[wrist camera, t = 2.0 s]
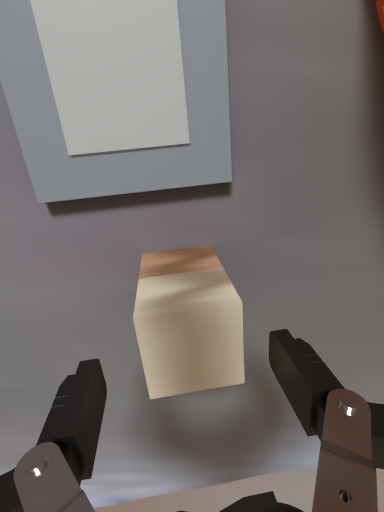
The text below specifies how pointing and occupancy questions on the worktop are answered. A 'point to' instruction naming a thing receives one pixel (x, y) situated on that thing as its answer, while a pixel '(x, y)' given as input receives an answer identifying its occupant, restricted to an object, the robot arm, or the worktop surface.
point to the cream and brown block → (188, 323)
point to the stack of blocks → (381, 12)
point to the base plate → (117, 94)
